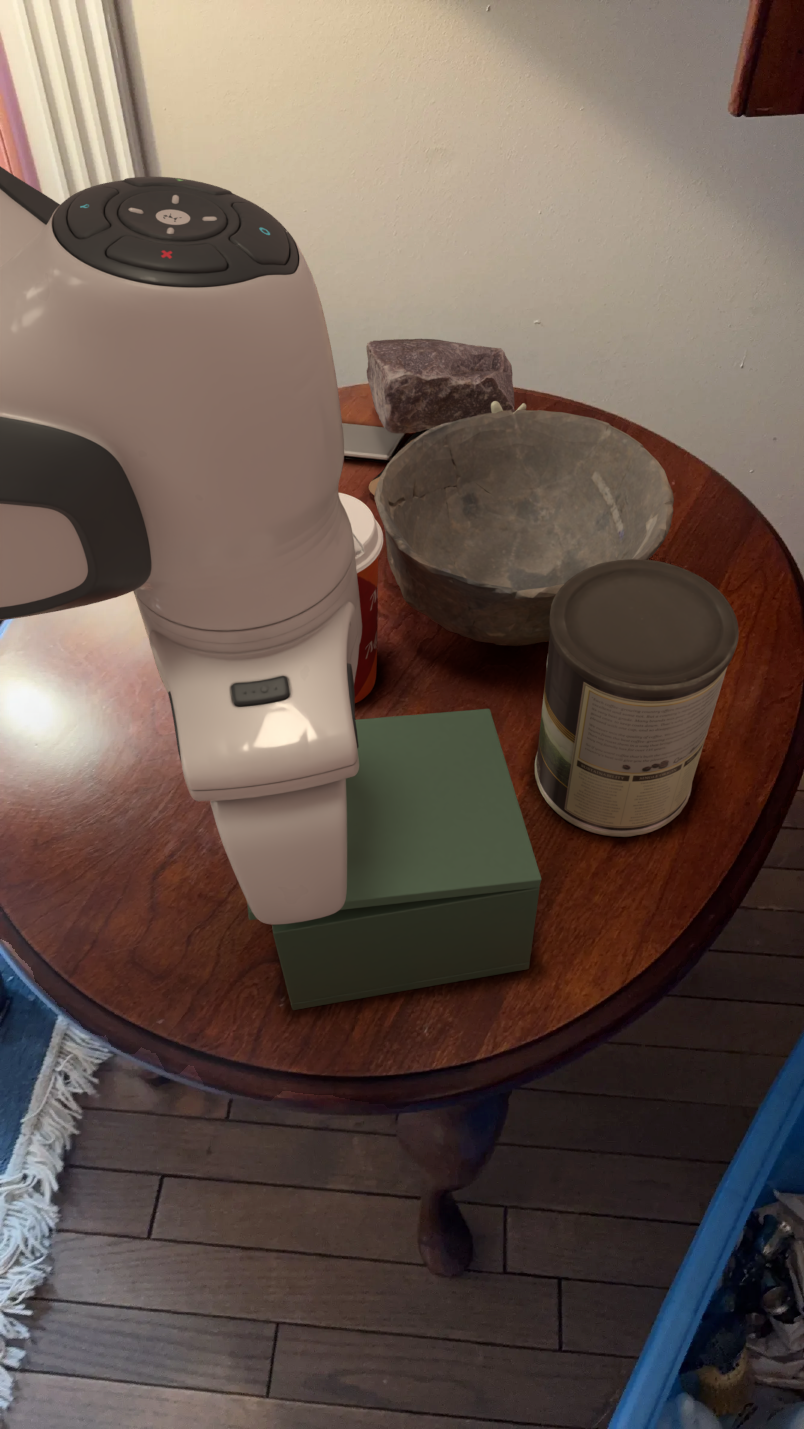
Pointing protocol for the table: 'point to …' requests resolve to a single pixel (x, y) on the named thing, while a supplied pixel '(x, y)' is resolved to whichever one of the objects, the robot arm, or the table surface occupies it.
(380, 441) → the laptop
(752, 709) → the table surface
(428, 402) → the rock
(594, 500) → the bowl
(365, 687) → the paper cup
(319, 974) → the chest
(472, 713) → the lid
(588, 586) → the coffee can
